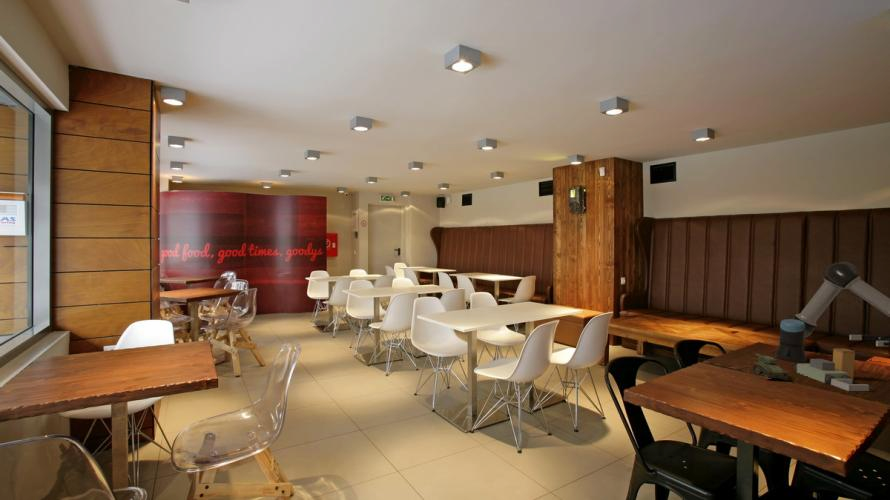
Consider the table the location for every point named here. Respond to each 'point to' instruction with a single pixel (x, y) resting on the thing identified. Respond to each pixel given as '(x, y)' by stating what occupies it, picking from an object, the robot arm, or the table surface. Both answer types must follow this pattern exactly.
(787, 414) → the table surface
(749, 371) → the table surface
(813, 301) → the robot arm
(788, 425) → the table surface
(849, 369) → the tan wooden block
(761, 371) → the toy
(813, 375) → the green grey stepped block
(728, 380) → the table surface
